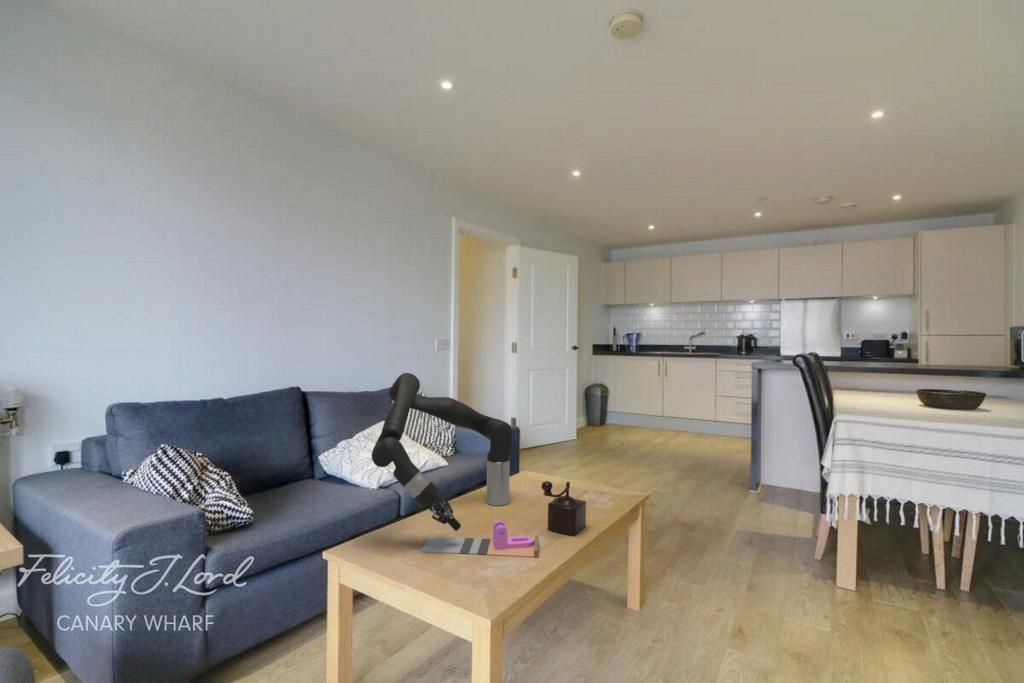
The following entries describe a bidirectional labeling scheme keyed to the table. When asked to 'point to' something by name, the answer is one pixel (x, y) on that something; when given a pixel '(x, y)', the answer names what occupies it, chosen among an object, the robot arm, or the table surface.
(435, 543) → the lane
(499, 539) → the bracket
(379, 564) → the table surface
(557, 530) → the manual coffee grinder
